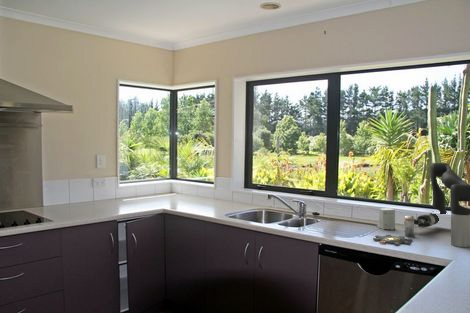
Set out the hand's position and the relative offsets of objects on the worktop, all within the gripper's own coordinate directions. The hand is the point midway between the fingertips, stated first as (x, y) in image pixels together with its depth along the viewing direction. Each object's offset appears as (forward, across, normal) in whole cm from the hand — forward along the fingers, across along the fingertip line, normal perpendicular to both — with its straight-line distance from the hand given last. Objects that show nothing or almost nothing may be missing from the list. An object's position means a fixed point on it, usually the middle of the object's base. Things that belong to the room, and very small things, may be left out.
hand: (411, 224), depth 233 cm
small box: (-5, -20, +7) cm, 22 cm away
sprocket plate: (+21, 0, +7) cm, 22 cm away
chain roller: (+3, 0, +7) cm, 7 cm away
